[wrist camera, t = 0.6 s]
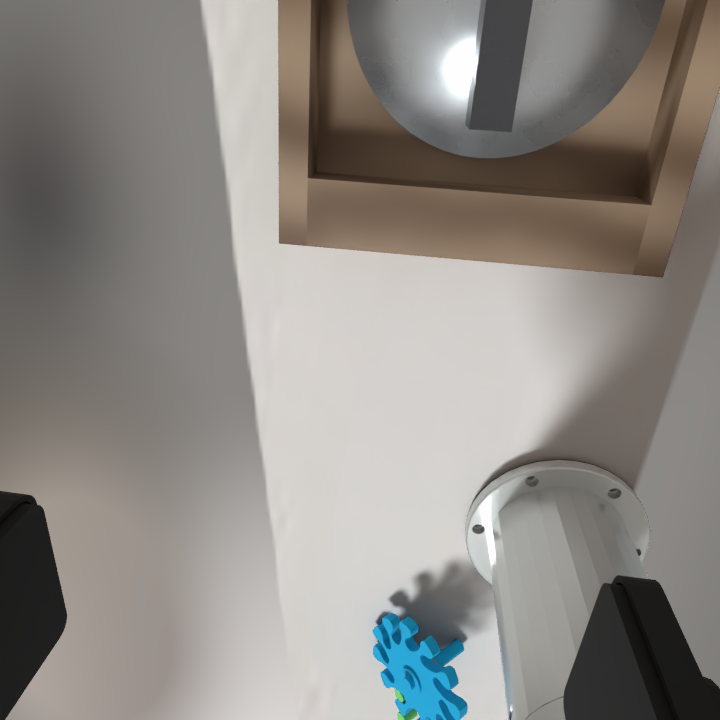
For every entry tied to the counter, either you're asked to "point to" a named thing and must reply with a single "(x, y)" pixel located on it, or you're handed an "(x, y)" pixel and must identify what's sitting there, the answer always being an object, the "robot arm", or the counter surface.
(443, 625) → the counter surface
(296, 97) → the dial panel
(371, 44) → the dial
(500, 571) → the robot arm
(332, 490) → the counter surface
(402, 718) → the gear
